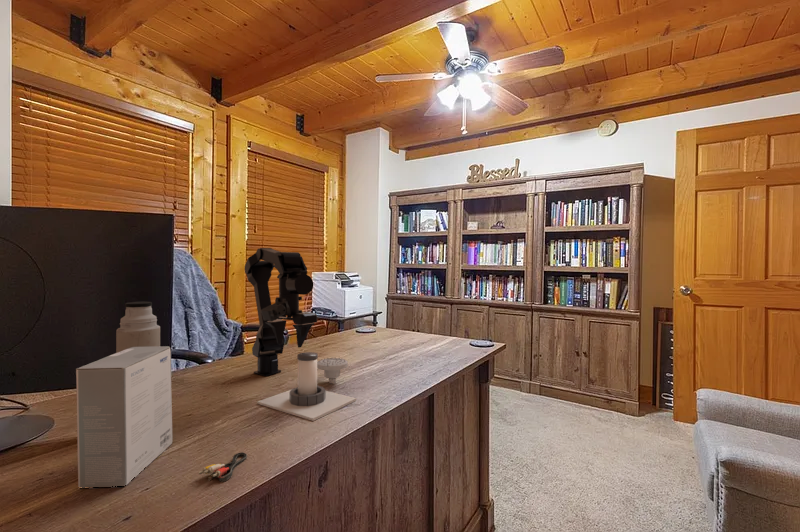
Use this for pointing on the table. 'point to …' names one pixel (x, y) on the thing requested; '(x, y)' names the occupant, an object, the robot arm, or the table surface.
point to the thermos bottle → (137, 327)
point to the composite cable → (223, 468)
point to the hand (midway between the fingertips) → (289, 345)
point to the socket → (307, 403)
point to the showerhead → (332, 367)
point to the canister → (307, 373)
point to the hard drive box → (123, 415)
